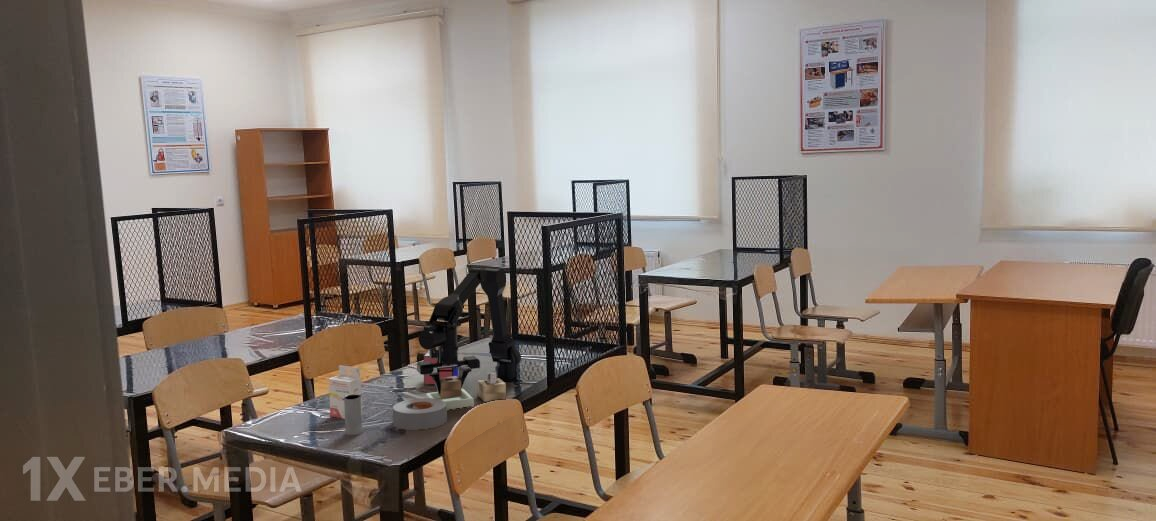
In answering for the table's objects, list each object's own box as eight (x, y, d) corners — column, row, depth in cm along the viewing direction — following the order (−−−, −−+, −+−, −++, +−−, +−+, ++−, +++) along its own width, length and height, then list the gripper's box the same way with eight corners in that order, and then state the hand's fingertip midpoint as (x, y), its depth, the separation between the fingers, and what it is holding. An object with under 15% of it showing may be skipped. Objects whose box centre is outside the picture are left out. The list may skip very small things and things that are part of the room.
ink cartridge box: (329, 416, 239) (326, 368, 237) (340, 412, 243) (338, 364, 242) (352, 420, 235) (349, 371, 234) (363, 415, 240) (361, 367, 238)
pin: (498, 398, 256) (497, 373, 255) (489, 399, 255) (488, 374, 254) (495, 395, 259) (494, 371, 258) (486, 396, 258) (485, 372, 257)
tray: (463, 396, 258) (463, 388, 258) (473, 406, 247) (473, 398, 247) (426, 401, 254) (426, 393, 253) (435, 411, 243) (434, 403, 242)
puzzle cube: (453, 385, 272) (452, 356, 270) (423, 385, 272) (422, 356, 271) (458, 377, 282) (457, 349, 280) (429, 377, 282) (429, 349, 281)
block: (456, 391, 254) (456, 375, 254) (461, 396, 249) (461, 380, 248) (437, 393, 252) (437, 378, 251) (442, 398, 246) (441, 383, 246)
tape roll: (401, 413, 242) (401, 397, 241) (452, 414, 241) (451, 397, 241) (386, 430, 227) (386, 413, 226) (440, 431, 226) (439, 413, 225)
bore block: (499, 393, 262) (498, 378, 261) (505, 398, 255) (505, 383, 255) (478, 395, 259) (477, 380, 258) (484, 401, 252) (484, 386, 252)
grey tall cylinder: (347, 436, 222) (345, 400, 220) (344, 431, 226) (342, 395, 224) (364, 433, 224) (362, 397, 223) (360, 429, 228) (358, 393, 227)
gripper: (470, 334, 259) (471, 382, 261) (412, 340, 252) (413, 389, 254) (480, 341, 249) (481, 390, 251) (419, 348, 242) (421, 398, 244)
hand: (449, 392), depth 250 cm, fingers closed on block, 6 cm apart
